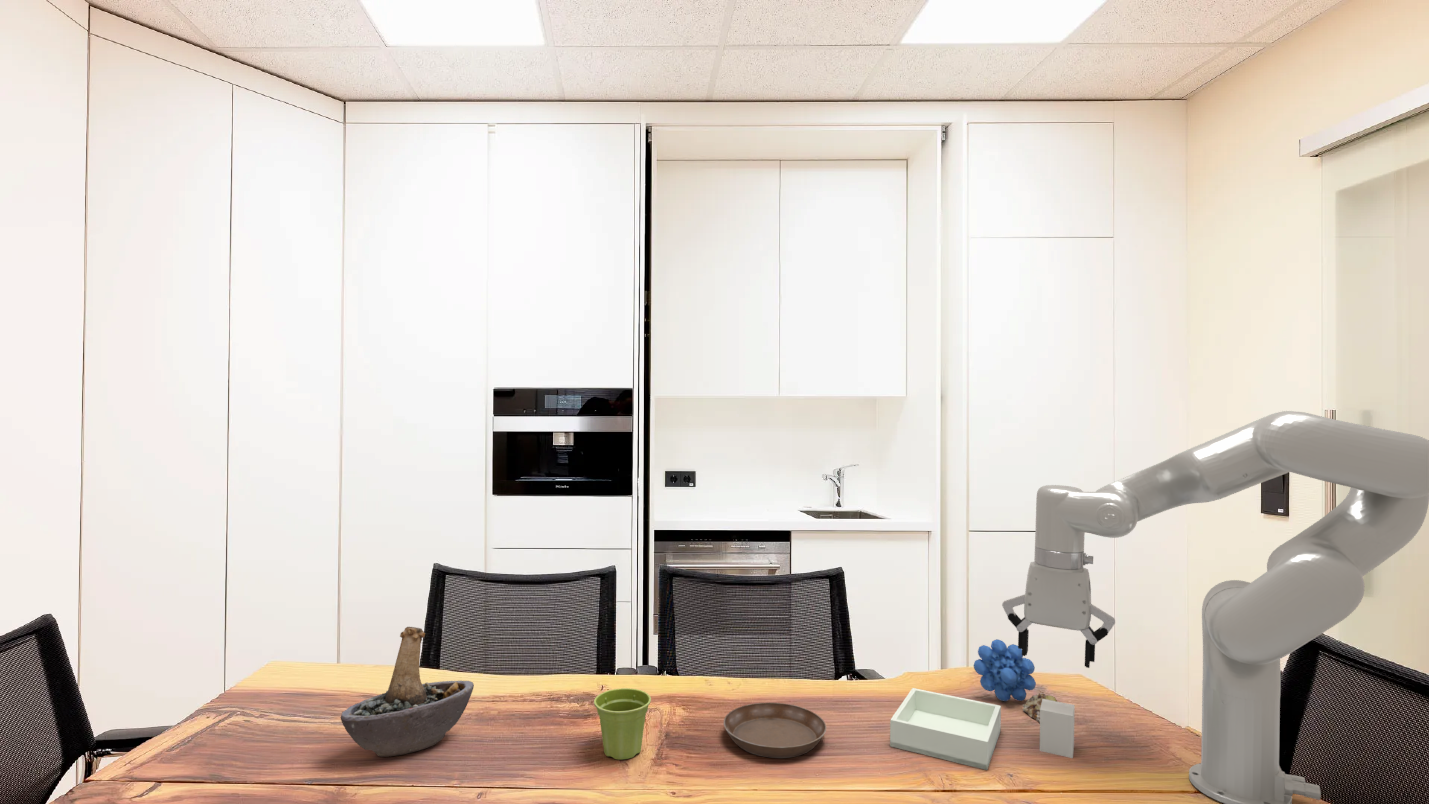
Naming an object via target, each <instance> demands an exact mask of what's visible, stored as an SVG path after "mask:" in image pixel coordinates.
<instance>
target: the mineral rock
mask: <svg viewBox="0 0 1429 804" xmlns="http://www.w3.org/2000/svg"><path fill="white" fill-rule="evenodd" d="M1042 699H1046V700H1051V701H1057V702H1059V701H1058V700H1057V699H1056V697H1054V696H1053V695H1046V694H1045V693H1043V692H1041V693H1039V692H1038V694H1035V695H1032V696H1031V697H1030V698H1028V699H1027V700H1026V701H1025V703H1024V704H1022V711H1023V712H1024V713H1025V714H1028V716H1029V717H1030V718H1032V719H1034V720H1035V721H1036V722H1039V724H1040V708H1041V703H1042Z"/></svg>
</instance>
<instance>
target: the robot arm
mask: <svg viewBox="0 0 1429 804" xmlns="http://www.w3.org/2000/svg"><path fill="white" fill-rule="evenodd" d="M1288 473H1292V474H1297V475H1301V476H1304V477H1308V478H1310V479H1316V480H1318V481H1323V482H1327V483H1330V484H1336V485H1340V486H1344V487H1349V488H1350V489H1349V491H1348V492H1347V493H1348V494H1347V495H1346V497H1345V498H1344V499H1343V500H1342V501H1340V503H1339V504H1337V505H1336V506H1335V507H1334V508H1333V509H1332V510H1330V511H1329V512H1328V513H1327V514H1326V515H1324V516H1323V517H1322V518H1320V519H1318V520H1317V521H1316V522H1314V523H1312V524H1311V525H1310V526H1309V527H1307V528H1306V529H1304V530H1303V531H1301V532H1300V533H1298V534H1297V535H1295V536H1293V537H1291V538H1290V539H1289V540H1288V539H1287V541H1286V542H1284V543H1282V544H1280V545H1278V547H1276V548H1275V549H1274V550H1273V551H1272V552H1271V553H1270V555H1269V557H1268V559H1267V563H1266V572H1264V573H1263V574H1261V575H1260V576H1259V577H1257V578H1256V579H1254V580H1253V581H1251V582H1249V581H1246V580H1239V579H1236V580H1235V579H1233V580H1232V579H1231V580H1230V579H1229V580H1226V581H1225V580H1224V581H1221V582H1219V583H1217V584H1215V585H1214V586H1213V587H1212V588H1210V589H1209V590H1208V591H1207V593H1206V594H1205V596H1204V598H1203V602H1202V607H1201V626H1202V627H1201V629H1202V630H1201V631H1202V681H1201V684H1202V685H1201V686H1202V688H1201V691H1202V692H1201V695H1202V696H1201V703H1202V704H1201V753H1200V754H1201V760H1200V763H1196V764H1193V765H1192V766H1191V767H1189V770H1188V779H1189V781H1190V783H1191V785H1193V786H1194V787H1195V788H1196V789H1197V790H1199V792H1201V793H1203V795H1205V796H1207V797H1209V798H1211V799H1213V800H1215V801H1217V802H1219V803H1221V804H1222V803H1223V804H1292V803H1293V796H1294V795H1298V796H1303V797H1305V798H1309V799H1314V800H1318V801H1320V800H1321V797H1322V795H1321V787H1320V785H1318V784H1314V783H1309V782H1306V779H1305V776H1304V777H1303V776H1298V775H1294V774H1293V775H1292V774H1287V773H1286V772H1285V771H1283V770H1282V768H1281V766H1280V724H1281V723H1280V721H1281V720H1280V718H1281V715H1280V714H1281V711H1280V710H1281V709H1280V708H1281V659H1282V658H1284V657H1286V656H1289V655H1290V654H1292V653H1293V652H1295V651H1296V650H1297V649H1299V648H1301V647H1303V646H1304V645H1306V644H1308V643H1309V642H1311V641H1313V640H1314V639H1315V638H1317V637H1319V636H1321V635H1322V634H1324V633H1326V632H1327V631H1329V630H1330V629H1331V628H1333V627H1335V626H1336V625H1337V624H1339V623H1341V622H1342V621H1344V620H1345V619H1347V618H1348V617H1349V616H1350V615H1352V614H1353V613H1354V611H1356V609H1357V608H1358V606H1359V605H1360V604H1361V602H1362V600H1363V597H1364V594H1365V581H1364V578H1363V577H1364V576H1365V575H1367V574H1368V573H1370V572H1371V571H1373V570H1374V569H1376V568H1378V567H1379V566H1380V565H1381V564H1383V563H1384V562H1385V561H1387V560H1388V559H1389V558H1391V557H1392V556H1394V555H1395V554H1396V553H1398V552H1399V551H1400V550H1402V549H1403V548H1404V547H1405V546H1406V545H1408V543H1410V541H1412V540H1413V539H1414V538H1415V536H1416V535H1417V534H1418V532H1419V531H1420V530H1421V528H1422V526H1423V525H1424V524H1423V523H1424V522H1425V519H1426V516H1427V514H1428V510H1429V509H1428V508H1429V439H1427V438H1425V437H1423V436H1419V435H1416V434H1411V433H1405V432H1401V431H1395V430H1391V429H1385V428H1379V427H1372V426H1368V425H1365V424H1364V425H1362V424H1358V423H1354V422H1348V421H1342V420H1338V419H1333V418H1329V417H1325V416H1320V415H1317V414H1313V413H1309V412H1303V411H1292V410H1284V411H1283V410H1282V411H1278V412H1275V413H1271V414H1269V415H1266V416H1262V417H1261V418H1259V419H1257V420H1255V421H1252V422H1250V423H1247V424H1245V425H1243V426H1242V425H1241V426H1240V427H1238V428H1236V429H1233V430H1231V431H1229V432H1226V433H1224V434H1221V435H1219V436H1217V437H1215V438H1212V439H1210V440H1207V441H1205V442H1203V443H1200V444H1198V445H1195V446H1193V447H1191V448H1189V449H1186V450H1184V451H1182V452H1179V453H1177V454H1175V455H1173V456H1170V457H1169V458H1167V459H1166V460H1163V461H1161V462H1159V463H1156V464H1153V465H1152V466H1149V467H1146V468H1144V469H1141V470H1140V471H1137V472H1135V473H1132V474H1130V475H1128V476H1124V477H1123V478H1120V479H1118V480H1116V481H1114V482H1111V483H1109V484H1107V485H1104V486H1102V487H1100V488H1098V489H1097V490H1096V491H1084V490H1082V489H1080V488H1078V487H1075V486H1069V485H1060V484H1047V485H1043V486H1040V487H1039V488H1038V490H1037V492H1036V502H1035V503H1036V504H1035V506H1036V507H1035V536H1034V537H1035V538H1034V539H1035V540H1034V561H1031V562H1029V567H1028V570H1027V574H1026V576H1027V577H1026V583H1025V592H1024V594H1022V595H1018V596H1016V597H1012V598H1009V599H1006V600H1004V601H1002V604H1001V606H1002V608H1003V610H1004V612H1005V615H1006V616H1007V620H1009V621H1010V623H1011V624H1012V625H1013V626H1014V627H1015V628H1016V631H1017V632H1018V634H1017V635H1018V638H1017V642H1018V643H1017V646H1018V648H1019V649H1022V656H1023V657H1026V656H1027V655H1028V651H1029V629H1028V628H1029V627H1030V626H1031V625H1032V624H1034V625H1035V624H1036V625H1041V626H1046V627H1053V628H1058V629H1064V630H1065V629H1066V630H1071V631H1076V632H1077V631H1078V632H1079V631H1080V632H1081V634H1082V636H1084V637H1085V645H1084V646H1085V647H1084V667H1085V668H1087V669H1090V667H1091V665H1090V663H1095V659H1096V658H1095V657H1096V644H1097V643H1098V642H1099V641H1101V640H1103V639H1104V638H1105V637H1107V636H1108V634H1109V632H1110V631H1111V630H1112V629H1113V627H1114V625H1115V624H1116V618H1115V617H1113V616H1112V615H1110V614H1109V613H1107V612H1105V611H1103V610H1102V609H1101V608H1099V607H1097V606H1096V605H1094V604H1092V591H1091V590H1092V588H1091V577H1090V573H1089V569H1088V568H1086V567H1084V566H1086V565H1094V555H1089V554H1087V553H1086V552H1085V533H1088V534H1091V535H1096V536H1098V537H1099V536H1100V537H1103V538H1110V539H1113V538H1114V539H1116V538H1122V537H1124V536H1127V535H1129V534H1130V533H1132V532H1133V530H1134V529H1135V528H1136V526H1137V524H1138V522H1140V521H1142V520H1145V519H1147V518H1150V517H1153V516H1155V515H1158V514H1161V513H1163V512H1166V511H1169V510H1171V509H1174V508H1179V507H1181V506H1184V505H1185V506H1186V505H1191V504H1192V505H1193V504H1203V503H1209V502H1215V501H1217V500H1219V501H1220V500H1221V499H1225V498H1227V497H1230V496H1231V495H1235V494H1237V493H1239V492H1242V491H1244V490H1246V489H1250V488H1251V487H1255V486H1256V485H1259V484H1261V483H1265V482H1267V481H1269V480H1272V479H1275V478H1278V477H1281V476H1282V475H1286V474H1288ZM1021 605H1024V607H1023V613H1024V617H1023V618H1020V616H1019V615H1017V613H1016V611H1015V609H1014V607H1018V606H1021ZM1092 616H1093V617H1095V618H1097V619H1099V620H1100V621H1102V624H1101V627H1098V628H1096V630H1094V629H1093V628H1092V627H1091V626H1090V622H1091V621H1092V620H1091V619H1092ZM1293 794H1294V795H1293Z"/></svg>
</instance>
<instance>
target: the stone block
mask: <svg viewBox="0 0 1429 804" xmlns="http://www.w3.org/2000/svg"><path fill="white" fill-rule="evenodd" d="M1057 701H1058V700H1057ZM1057 701H1051V700H1046V699H1042V703H1041V708H1040V723H1039V752H1044V753H1048V754H1052V755H1057V756H1061V757H1066V758H1070V759H1073V758H1074V748H1075V712H1076V711H1075V709H1076V707H1075V705H1076V704H1071V703H1066V702H1061V701H1058V702H1057Z"/></svg>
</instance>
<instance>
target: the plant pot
mask: <svg viewBox="0 0 1429 804" xmlns="http://www.w3.org/2000/svg"><path fill="white" fill-rule="evenodd" d="M651 697H652V696H651V695H650V694H649V693H647V692H646V691H645V690H642V689H637V688H627V687H626V688H625V687H622V688H614V689H609V690H606V691H603V692H601V693H599V694H598V695H597V696H596V697H595V698H594V700H593V705H594V707H595V708H596V712H597V714H598V717H599V724H600V731H601V739H602V747H603V752H604V755H605V756H606V757H611V758H613V759H615V760H628V759H632V758H634V757H635V756H636V755H637V754H640V753H641V750H642V745H643V744H642V743H643V737H644V731H645V730H644V728H645V721H646V714H647V712H648V710H649V705H650V704H651V702H652V698H651Z"/></svg>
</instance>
